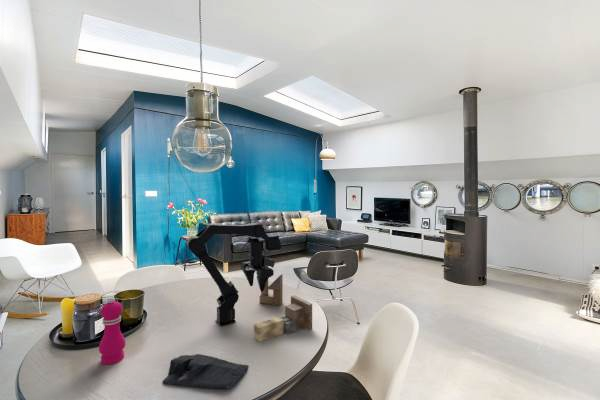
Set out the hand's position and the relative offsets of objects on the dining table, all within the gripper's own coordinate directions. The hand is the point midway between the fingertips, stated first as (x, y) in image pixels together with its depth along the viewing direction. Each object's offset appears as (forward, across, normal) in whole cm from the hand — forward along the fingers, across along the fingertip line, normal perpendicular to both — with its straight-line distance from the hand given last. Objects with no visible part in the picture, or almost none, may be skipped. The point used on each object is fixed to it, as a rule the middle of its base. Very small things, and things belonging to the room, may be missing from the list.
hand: (256, 288), depth 128 cm
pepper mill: (+12, -1, +53) cm, 54 cm away
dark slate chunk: (+13, -27, +32) cm, 44 cm away
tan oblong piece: (+12, -18, +3) cm, 22 cm away
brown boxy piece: (+12, -18, -7) cm, 23 cm away
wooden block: (+12, +9, -13) cm, 20 cm away
